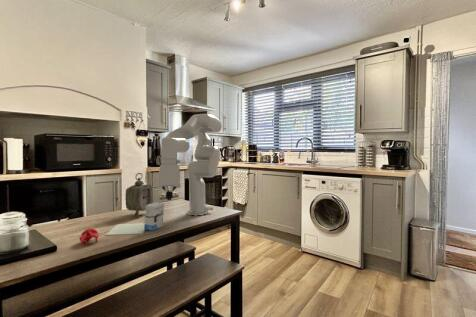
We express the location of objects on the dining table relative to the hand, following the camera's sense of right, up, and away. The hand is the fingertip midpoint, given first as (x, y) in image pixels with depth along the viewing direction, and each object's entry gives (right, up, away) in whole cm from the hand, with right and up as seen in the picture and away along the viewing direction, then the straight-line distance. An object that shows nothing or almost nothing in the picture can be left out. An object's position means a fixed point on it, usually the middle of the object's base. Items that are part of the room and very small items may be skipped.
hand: (169, 199), depth 126 cm
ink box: (-8, -14, 0) cm, 16 cm away
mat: (-19, -14, -2) cm, 24 cm away
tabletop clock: (-24, -13, +25) cm, 37 cm away
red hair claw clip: (-28, -15, -19) cm, 37 cm away
